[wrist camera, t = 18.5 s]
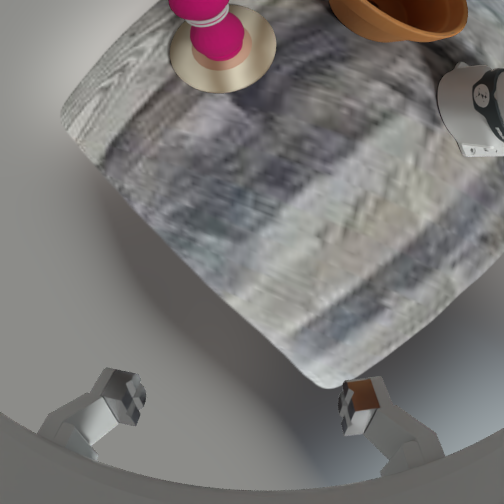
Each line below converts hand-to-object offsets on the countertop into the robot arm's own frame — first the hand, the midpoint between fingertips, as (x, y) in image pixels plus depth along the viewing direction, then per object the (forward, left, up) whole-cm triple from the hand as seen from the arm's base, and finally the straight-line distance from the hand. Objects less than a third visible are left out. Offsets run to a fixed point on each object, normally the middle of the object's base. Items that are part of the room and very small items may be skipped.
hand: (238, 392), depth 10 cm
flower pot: (-19, -35, -35) cm, 53 cm away
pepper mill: (+5, -25, -34) cm, 42 cm away
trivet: (+5, -25, -35) cm, 43 cm away
